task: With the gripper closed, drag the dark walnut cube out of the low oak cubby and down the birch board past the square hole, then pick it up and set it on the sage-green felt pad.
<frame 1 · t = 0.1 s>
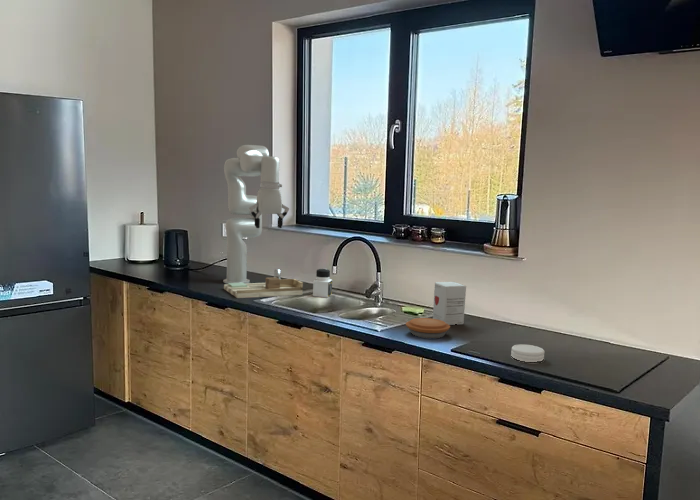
hand: (268, 227, 259), 31 cm above the worktop, tool pointing down, fingers open, 9 cm apart
board: (262, 291, 283), on the worktop
medicine bottle: (322, 295, 280), on the worktop
grey metal peg: (277, 284, 292), point 2 cm above the worktop, touching board
walnut cube: (272, 289, 278), point 2 cm above the worktop, touching board
supplement box: (447, 322, 238), on the worktop
pie: (427, 335, 219), on the worktop
white round container: (527, 359, 194), on the worktop
pad: (237, 285, 283), resting on board
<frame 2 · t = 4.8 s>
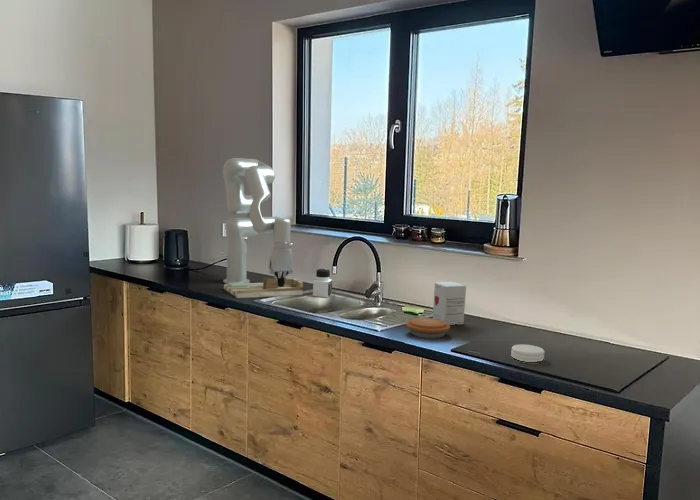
hand: (280, 286, 280), 3 cm above the worktop, tool pointing down, fingers closed
walnut cube: (270, 289, 277), point 2 cm above the worktop, touching board, gripper
everything else where it was.
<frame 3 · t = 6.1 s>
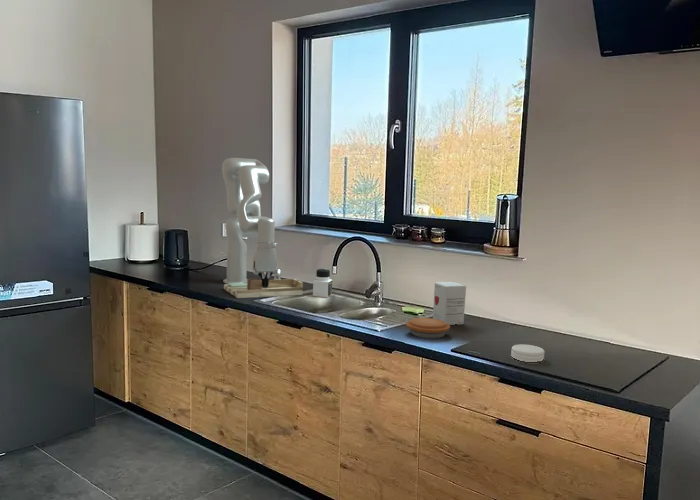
hand: (264, 287, 276), 3 cm above the worktop, tool pointing down, fingers closed
walnut cube: (254, 290, 274), point 2 cm above the worktop, touching gripper
everything else where it was.
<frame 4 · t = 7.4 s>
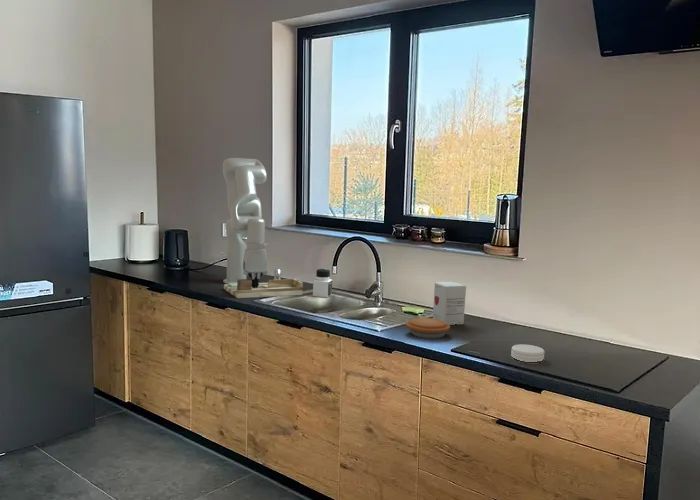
hand: (254, 287, 274), 3 cm above the worktop, tool pointing down, fingers closed
walnut cube: (244, 291, 271), point 2 cm above the worktop, touching gripper
everything else where it was.
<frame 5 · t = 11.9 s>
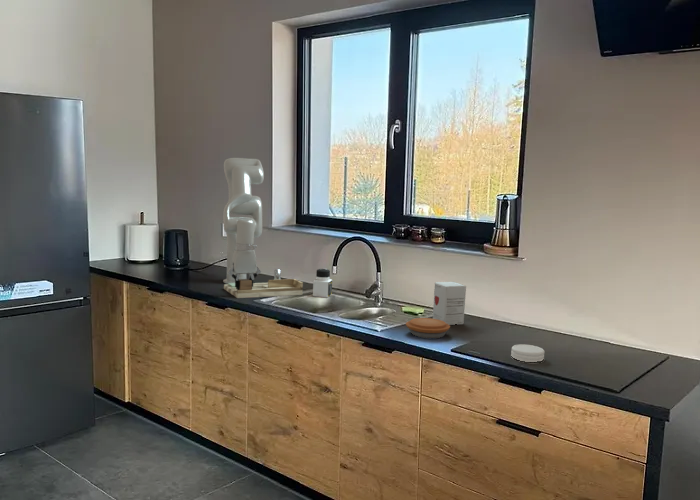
hand: (244, 288, 272), 3 cm above the worktop, tool pointing down, fingers closed on walnut cube, 5 cm apart
walnut cube: (244, 291, 271), point 2 cm above the worktop, touching board, gripper
everything else where it was.
when the fingers open (5 cm above the worktop, at t = 16.2 s): walnut cube stays where it is, resting on pad.
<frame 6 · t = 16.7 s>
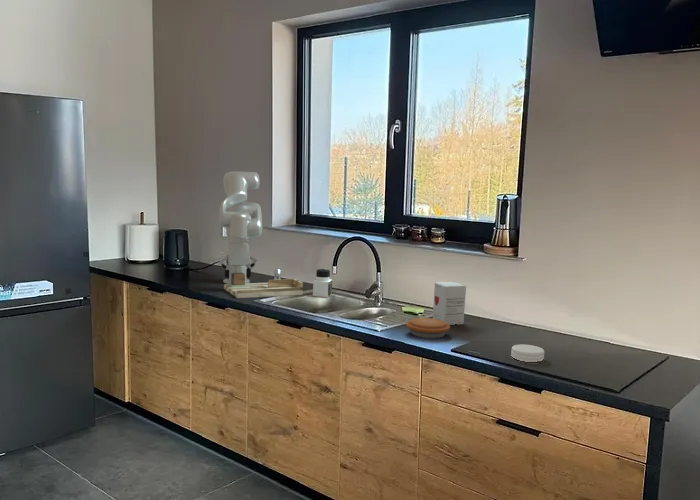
hand: (237, 277, 283), 6 cm above the worktop, tool pointing down, fingers open, 9 cm apart
walnut cube: (237, 284, 283), point 3 cm above the worktop, touching pad
everything else where it was.
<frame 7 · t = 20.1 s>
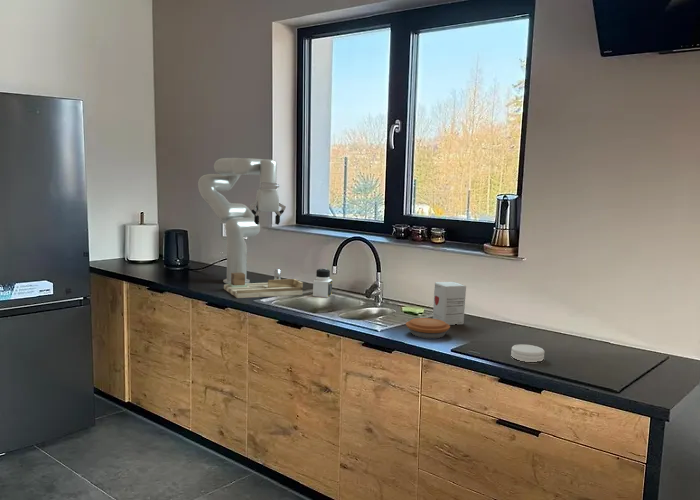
hand: (267, 224, 285), 30 cm above the worktop, tool pointing down, fingers open, 9 cm apart
nothing on the worktop moved.
at the end: walnut cube inside the target area on the pad (0.4 cm from its centre), point 0.8 cm above the pad's base; walnut cube tilted 0°; the gripper is holding nothing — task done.
